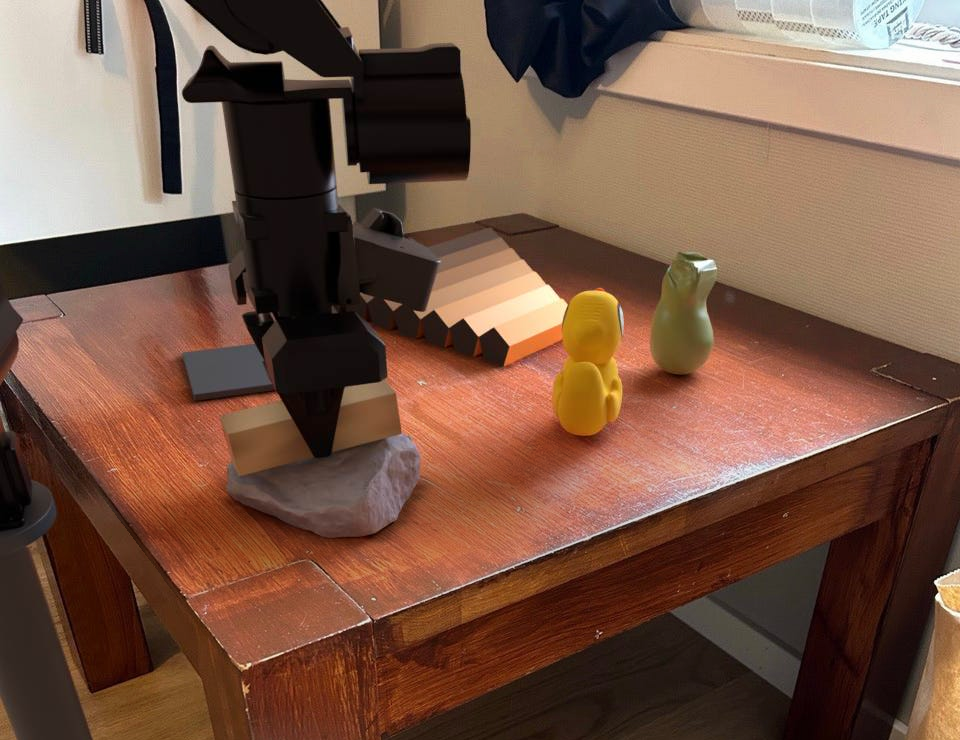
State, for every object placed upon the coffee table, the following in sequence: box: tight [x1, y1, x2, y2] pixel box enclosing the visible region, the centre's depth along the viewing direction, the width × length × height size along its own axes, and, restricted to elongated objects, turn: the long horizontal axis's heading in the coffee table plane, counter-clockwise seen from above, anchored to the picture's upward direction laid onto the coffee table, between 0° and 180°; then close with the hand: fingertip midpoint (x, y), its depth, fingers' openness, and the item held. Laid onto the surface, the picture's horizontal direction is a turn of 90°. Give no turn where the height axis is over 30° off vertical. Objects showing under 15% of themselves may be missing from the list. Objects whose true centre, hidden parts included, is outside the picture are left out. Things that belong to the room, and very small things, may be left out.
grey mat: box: [182, 343, 275, 402], centre depth 85 cm, size 13×10×1 cm
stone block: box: [225, 432, 422, 539], centre depth 66 cm, size 12×5×10 cm
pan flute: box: [333, 226, 568, 367], centre depth 99 cm, size 25×3×25 cm
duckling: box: [552, 287, 624, 437], centre depth 73 cm, size 11×5×10 cm, turn 169°
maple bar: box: [218, 378, 403, 476], centre depth 63 cm, size 11×3×3 cm, turn 112°
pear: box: [649, 251, 718, 375], centre depth 82 cm, size 6×5×10 cm
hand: (314, 440), depth 64 cm, fingers open, 5 cm apart
